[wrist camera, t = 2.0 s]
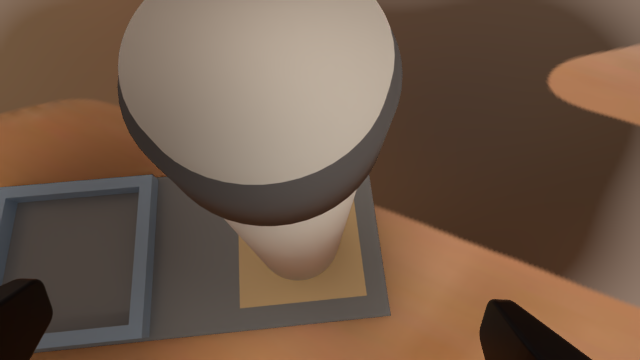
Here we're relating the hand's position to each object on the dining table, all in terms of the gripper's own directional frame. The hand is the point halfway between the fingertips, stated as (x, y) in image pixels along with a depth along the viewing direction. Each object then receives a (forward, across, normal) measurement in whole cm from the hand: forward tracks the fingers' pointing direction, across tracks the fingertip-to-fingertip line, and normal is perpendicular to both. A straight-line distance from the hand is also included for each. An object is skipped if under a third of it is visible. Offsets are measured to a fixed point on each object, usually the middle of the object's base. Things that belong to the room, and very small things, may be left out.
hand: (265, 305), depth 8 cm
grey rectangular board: (+10, +5, +6) cm, 12 cm away
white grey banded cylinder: (+10, 0, +5) cm, 11 cm away
